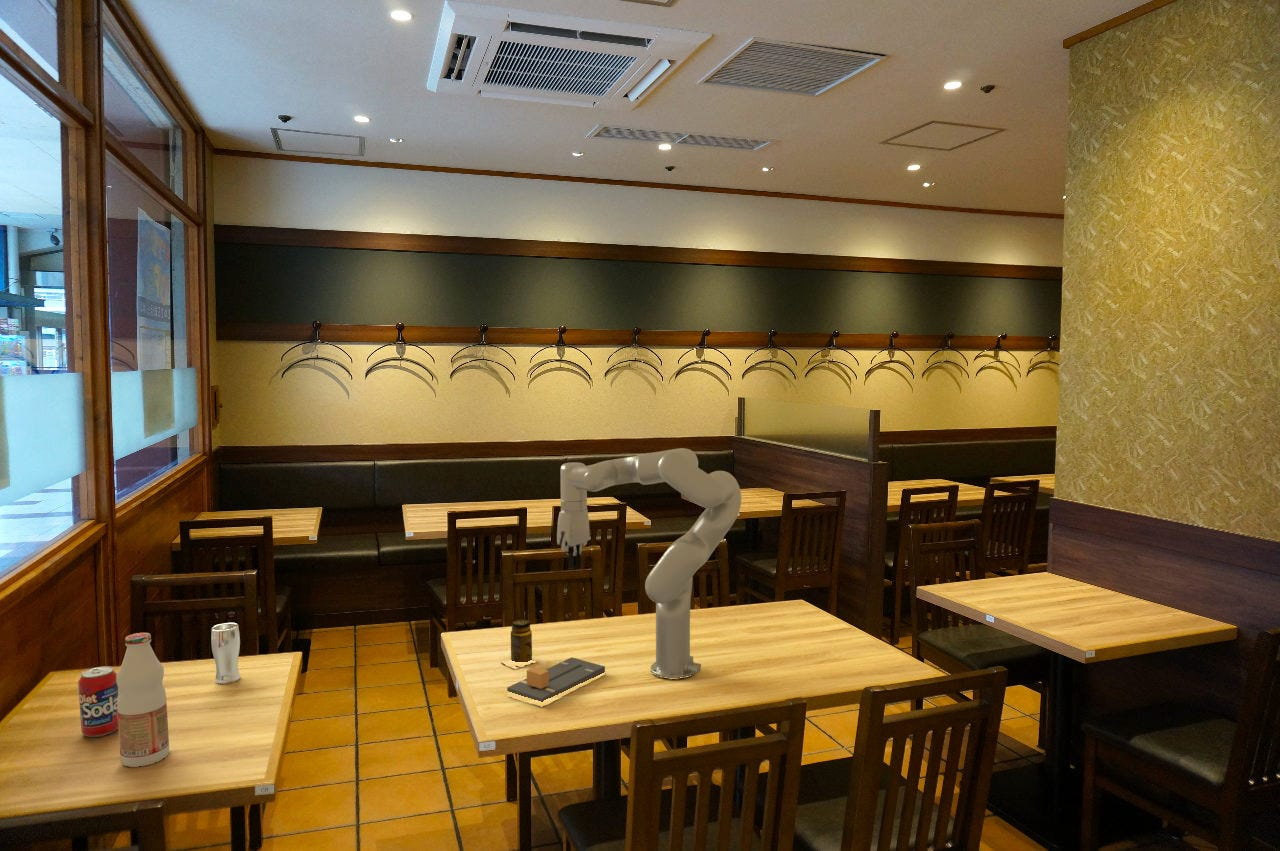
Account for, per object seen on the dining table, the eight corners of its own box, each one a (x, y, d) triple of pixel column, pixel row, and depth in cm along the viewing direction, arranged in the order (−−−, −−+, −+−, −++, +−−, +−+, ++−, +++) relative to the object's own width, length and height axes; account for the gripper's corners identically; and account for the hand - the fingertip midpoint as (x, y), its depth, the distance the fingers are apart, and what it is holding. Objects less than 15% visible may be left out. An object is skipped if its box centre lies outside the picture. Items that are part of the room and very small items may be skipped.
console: (571, 665, 241) (571, 656, 240) (604, 675, 234) (604, 665, 234) (507, 696, 220) (507, 686, 219) (541, 708, 213) (541, 697, 212)
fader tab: (534, 680, 223) (534, 666, 222) (548, 685, 220) (548, 671, 220) (526, 684, 220) (526, 670, 220) (541, 688, 217) (540, 674, 217)
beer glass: (230, 685, 227) (227, 631, 226) (207, 683, 229) (204, 630, 227) (247, 675, 234) (244, 623, 233) (225, 673, 236) (222, 621, 234)
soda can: (113, 721, 206) (109, 662, 205) (126, 730, 201) (122, 670, 200) (76, 733, 200) (72, 672, 199) (88, 742, 195) (84, 680, 194)
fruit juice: (128, 773, 181) (120, 646, 178) (115, 758, 188) (106, 636, 185) (175, 757, 188) (168, 635, 185) (161, 743, 194) (154, 625, 192)
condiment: (538, 662, 243) (537, 622, 242) (514, 670, 238) (513, 629, 236) (523, 655, 249) (522, 616, 248) (499, 663, 243) (498, 622, 242)
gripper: (579, 500, 251) (580, 560, 253) (547, 508, 239) (547, 571, 240) (599, 502, 247) (600, 564, 249) (567, 511, 235) (568, 575, 236)
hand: (574, 567), depth 245 cm, fingers closed
